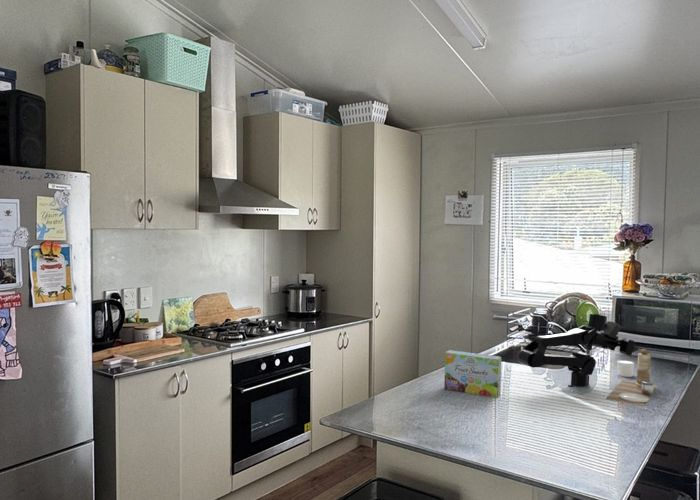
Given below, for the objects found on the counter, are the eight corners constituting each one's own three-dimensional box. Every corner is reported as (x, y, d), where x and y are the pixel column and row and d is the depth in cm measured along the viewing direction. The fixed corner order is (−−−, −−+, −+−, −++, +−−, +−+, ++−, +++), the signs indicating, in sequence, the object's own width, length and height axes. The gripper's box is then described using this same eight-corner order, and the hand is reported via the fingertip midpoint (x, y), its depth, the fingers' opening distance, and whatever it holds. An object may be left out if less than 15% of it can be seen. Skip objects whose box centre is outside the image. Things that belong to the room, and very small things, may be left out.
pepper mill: (643, 388, 232) (645, 350, 232) (633, 384, 237) (634, 348, 236) (652, 387, 234) (654, 349, 234) (642, 383, 239) (643, 347, 238)
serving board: (643, 409, 209) (643, 405, 209) (604, 402, 216) (605, 399, 216) (656, 388, 236) (656, 385, 236) (621, 383, 244) (622, 380, 244)
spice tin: (647, 395, 222) (648, 384, 222) (638, 392, 226) (639, 381, 226) (655, 394, 224) (656, 383, 224) (646, 391, 228) (646, 380, 228)
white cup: (631, 380, 249) (632, 364, 248) (614, 377, 253) (615, 361, 252) (635, 377, 254) (635, 361, 254) (618, 374, 258) (619, 359, 258)
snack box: (443, 389, 228) (444, 351, 227) (448, 386, 233) (449, 349, 232) (497, 398, 218) (498, 358, 218) (500, 394, 223) (502, 355, 223)
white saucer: (635, 403, 211) (635, 402, 211) (613, 396, 220) (613, 394, 220) (654, 401, 215) (654, 399, 215) (632, 393, 224) (632, 392, 224)
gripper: (621, 325, 229) (651, 331, 233) (588, 317, 246) (617, 323, 251) (615, 352, 228) (645, 358, 233) (582, 343, 246) (611, 349, 251)
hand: (629, 346), depth 242 cm, fingers open, 9 cm apart
